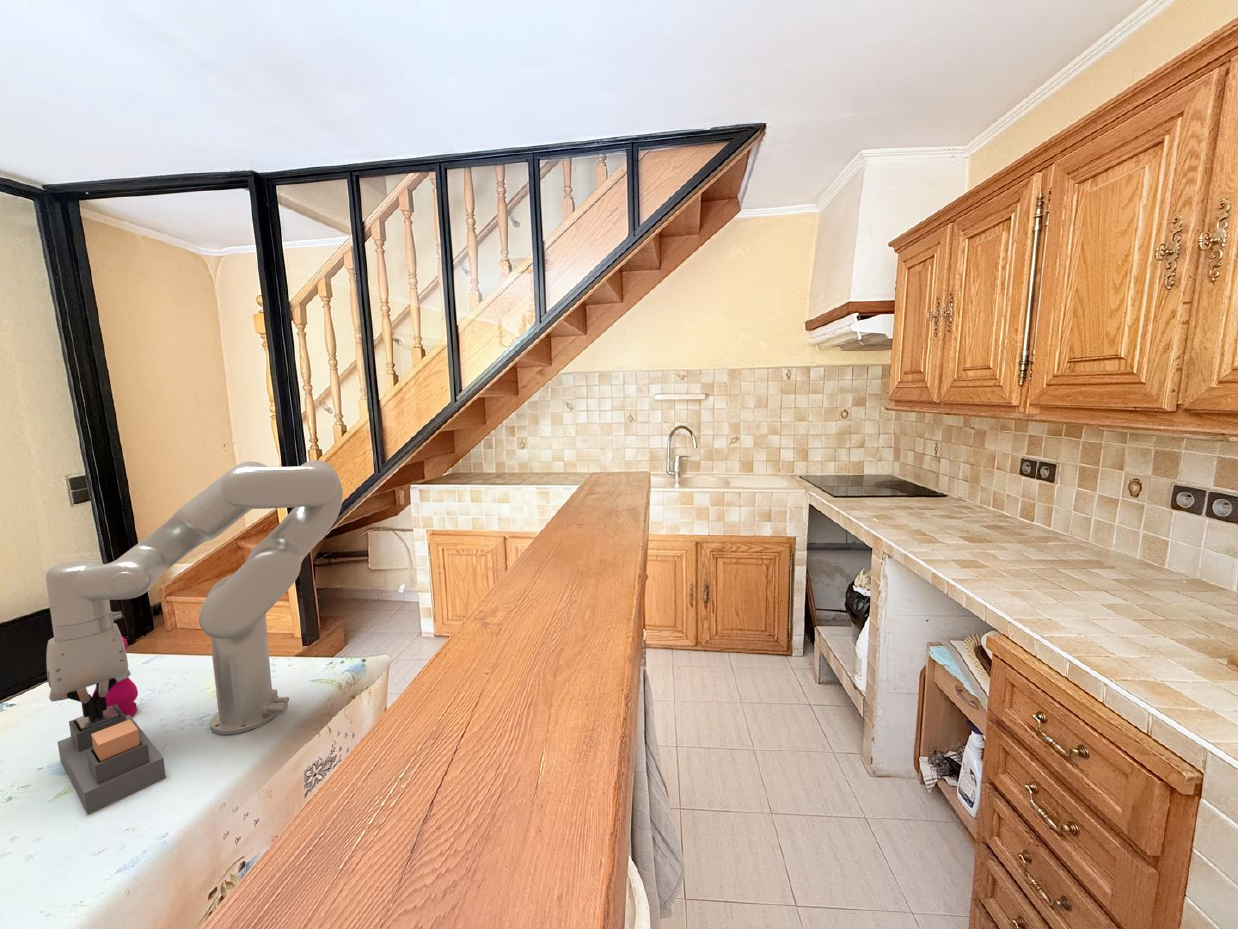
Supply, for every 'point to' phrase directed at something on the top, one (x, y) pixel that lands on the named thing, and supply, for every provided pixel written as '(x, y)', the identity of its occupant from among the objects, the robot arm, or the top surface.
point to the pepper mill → (123, 694)
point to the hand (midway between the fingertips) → (95, 716)
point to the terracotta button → (115, 739)
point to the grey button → (86, 723)
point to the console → (108, 766)
